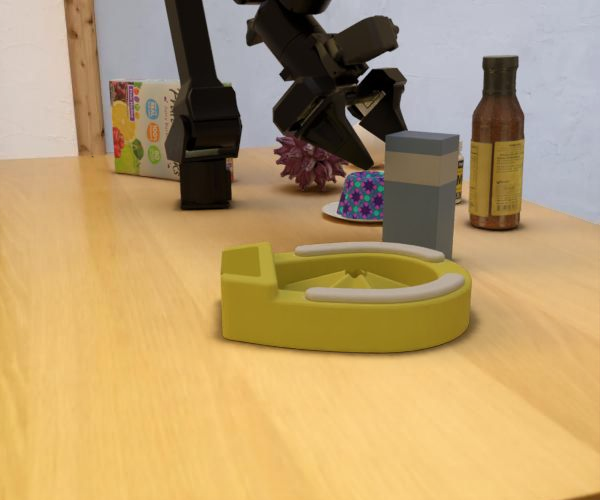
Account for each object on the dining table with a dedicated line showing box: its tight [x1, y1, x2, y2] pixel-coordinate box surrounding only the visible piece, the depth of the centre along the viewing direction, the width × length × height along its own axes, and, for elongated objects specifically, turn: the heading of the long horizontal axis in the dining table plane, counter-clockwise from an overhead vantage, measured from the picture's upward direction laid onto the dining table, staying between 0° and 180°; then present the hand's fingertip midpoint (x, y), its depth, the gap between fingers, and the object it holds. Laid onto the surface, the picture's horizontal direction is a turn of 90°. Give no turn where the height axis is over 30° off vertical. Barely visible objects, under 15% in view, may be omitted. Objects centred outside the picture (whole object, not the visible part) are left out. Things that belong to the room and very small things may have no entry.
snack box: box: [108, 78, 235, 182], centre depth 125 cm, size 21×6×15 cm, turn 58°
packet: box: [381, 130, 461, 262], centre depth 80 cm, size 6×4×13 cm
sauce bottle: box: [468, 54, 526, 230], centre depth 94 cm, size 7×6×20 cm
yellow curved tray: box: [220, 241, 473, 354], centre depth 67 cm, size 16×21×5 cm
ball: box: [352, 121, 385, 168], centre depth 134 cm, size 8×8×8 cm
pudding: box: [321, 170, 384, 223], centre depth 101 cm, size 12×12×5 cm
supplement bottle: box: [455, 138, 465, 204], centre depth 109 cm, size 5×5×8 cm
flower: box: [273, 134, 350, 192], centre depth 116 cm, size 12×12×12 cm
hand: (392, 161), depth 81 cm, fingers open, 9 cm apart
